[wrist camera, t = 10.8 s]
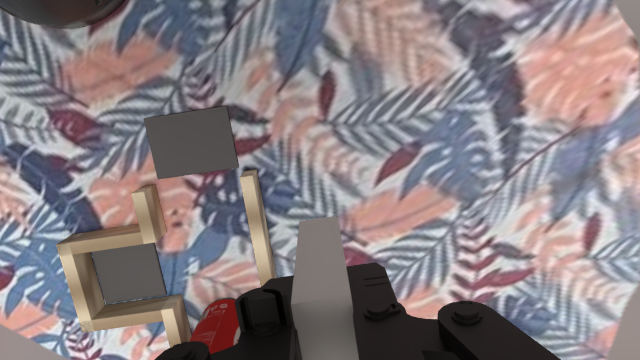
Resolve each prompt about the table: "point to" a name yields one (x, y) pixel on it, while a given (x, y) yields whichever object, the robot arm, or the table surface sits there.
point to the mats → (170, 161)
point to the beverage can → (218, 326)
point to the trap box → (147, 231)
